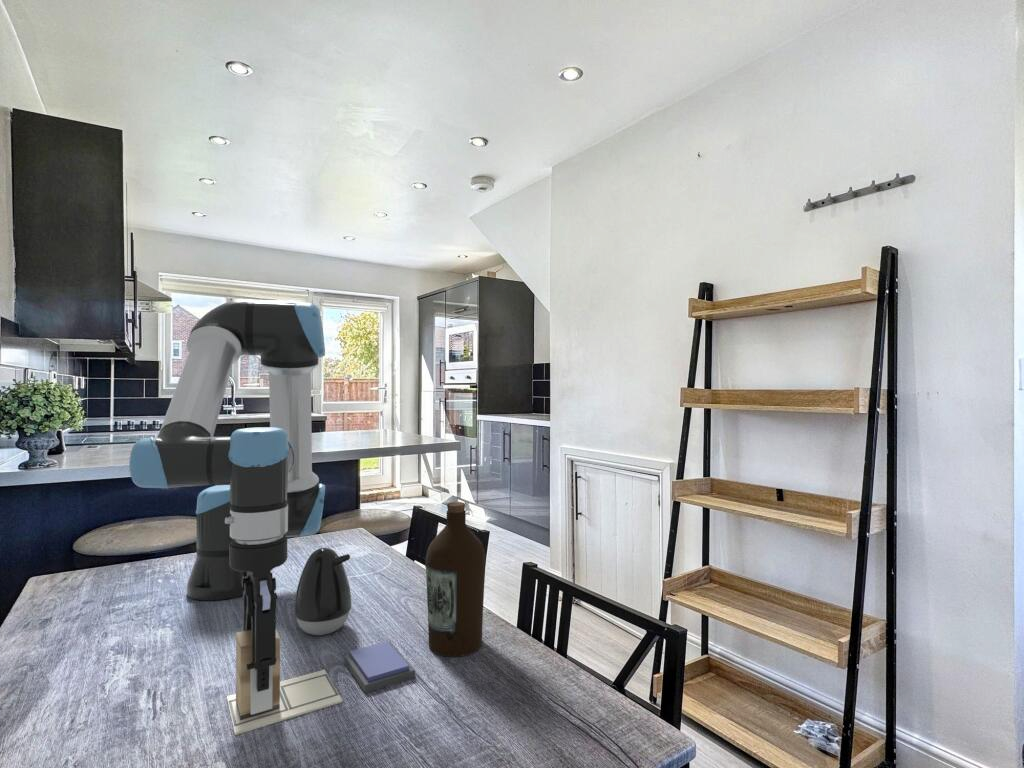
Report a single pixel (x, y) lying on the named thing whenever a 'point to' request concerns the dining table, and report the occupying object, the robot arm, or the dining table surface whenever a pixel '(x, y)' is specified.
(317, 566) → the pump dispenser
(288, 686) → the tag card
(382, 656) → the ink pad
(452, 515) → the olive oil
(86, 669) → the dining table surface
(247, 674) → the tall wooden block
